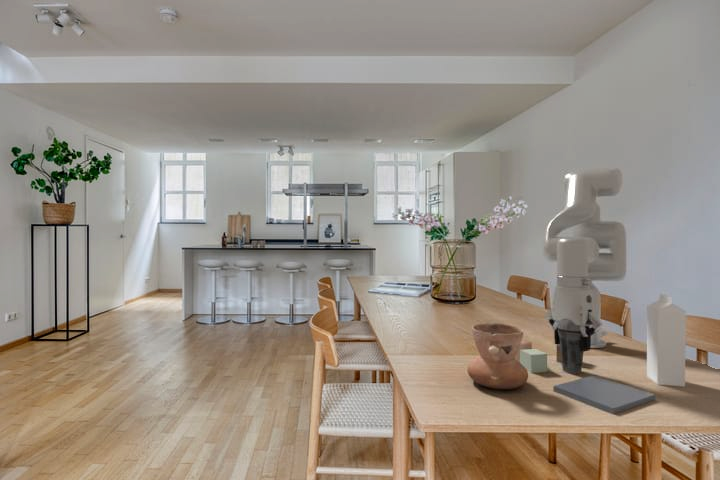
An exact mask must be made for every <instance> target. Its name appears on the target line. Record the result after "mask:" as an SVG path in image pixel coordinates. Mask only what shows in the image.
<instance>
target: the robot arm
mask: <svg viewBox="0 0 720 480" xmlns="http://www.w3.org/2000/svg"><path fill="white" fill-rule="evenodd" d="M622 186H623V174H622V172H621V170H620V169H619V168H618V167H609V168H607V167H606V168H605V167H604V168H596V169H581V170H574V171H570V172H568V173H567V174H565V175H564V178H563V188H564V192H565V199H564V207H563V208H564V209H563V210H561V211H560V212H559V213H557V214H556V215H555V216H554V217H553V218H552V219H551V220H550V222H549V223H548V224H547V226H546V228H545V233H544V238H543V245H542V246H543V250H542V251H543V252H542V253H543V256H544V258H545V259H546V260H547V261H549V262H552V263H556V286H554V290H553V295H552V302H551V309H549V310H547V312H545V314H544V315H545V317H546V318H547V319H546V320H548V323H549V324H550V325H551V328H552V330H553V333H554V335H553V336H554V338H553V339H554V344H555V345H556V346H557V345H558V344H560V338H559V334H558V329H557V327H558V323H559V321H560V320H561V319H564V318H566V319H569V320H571V321H572V322H573V323H574V324H575V325H577V326H579V328H580V330H581V333H582V335H583V336H581V337H580V350H581V351H583V353H584V352H588V351H590V350H591V349H602V348H605V347H606V346H607V343H606V341H604V340H603V339H602V337H607V335H608V332H607V331H606V330H602V329H601V328H602V326H603V323H602V321H601V320H602V319H601V315H602V314H601V310H602V309H601V308H602V306H601V303H602V301H601V299H602V298H601V297H602V296H601V295H602V294H601V292H600V290H599V289H598V287H597V286H596V285H595V284H594V283H593V282H596V281H598V282H599V281H600V282H602V281H603V282H620V281H623V280H624V279H625V277H626V274H627V230H626V228H625V226H624V224H623V223H622V222H619V221H613V220H612V221H611V220H610V221H609V220H608V221H607V220H606V221H605V220H604V221H601V207H600V205H599V204H598V202H597V197H598V198H599V197H614V196H615V197H616V196H617V195H618V194H619V193H620V191H621V189H622ZM569 228H571V229H572V230H571V236H559V234H560V233H561V232H563V231H565V230H567V229H569ZM600 250H608V251H610V252H600Z"/></svg>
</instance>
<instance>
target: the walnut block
mask: <svg viewBox="0 0 720 480" xmlns="http://www.w3.org/2000/svg"><path fill="white" fill-rule="evenodd" d="M555 360H556V362H557V363H561V364H562V360H561V349H560V344H558V345H557V344H556V359H555Z"/></svg>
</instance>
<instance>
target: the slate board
mask: <svg viewBox="0 0 720 480" xmlns="http://www.w3.org/2000/svg"><path fill="white" fill-rule="evenodd" d="M552 391H553V392H555V393H557V394H560V395H562V396H565V397H568V398H570V399H574V400H576V401H578V402H581V403H584V404H587V405H588V406H591V407H594V408H597V409H598V410H601V411H603V412H607V413H609V414H612V415H614V414H617V413H621V412H623V411H627V410H629V409H632V408H635V407H638V406H640V405H644V404H647V403H649V402H653V401H655V400H656V394H655V393H651V392H649V391H645V390H642V389H640V388H637V387H633V386H630V385H627V384H624V383H620V382H617V381H614V380H610V379H607V378H604V377H602V376H598V375H590V376H586V377H583V378H580V379H574V380H572V381H568V382H567V381H566V382H563V383H559V384H555V385H553V390H552Z"/></svg>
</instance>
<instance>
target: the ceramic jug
mask: <svg viewBox="0 0 720 480" xmlns="http://www.w3.org/2000/svg"><path fill="white" fill-rule="evenodd" d="M471 326H472V327H471V332H472V336H473V341H474V343H475V346H476V349H477V351H478V353H479V354H478V355H477V357H475V358H473V359H472V360H470V361H469V363H468V365H467V368H466V369H467V370H466V371H467V374H468V376H469V377H470V379H471V380H473V381H474V382H475V383H476V384H477V385H480V386H482V387H486V388H490V389H494V390H513V389H517V388H519V387H522V386H523V385H525V384H526V383H527V381H528V378H529V373H528V371H527V370H526V368H525V367H524V366H523V365H522V364H520V363H519V362H518V361H517V360H516V359H515V358H514V357H515V355H516V353H517V351H518V349H519V346H520V344H521V341H522V340H523V336H524V330H523V329H522V328H520V327H519V326H516V325H513V324H509V323H502V322H482V323H481V322H480V323H477V324H473V325H471Z"/></svg>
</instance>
